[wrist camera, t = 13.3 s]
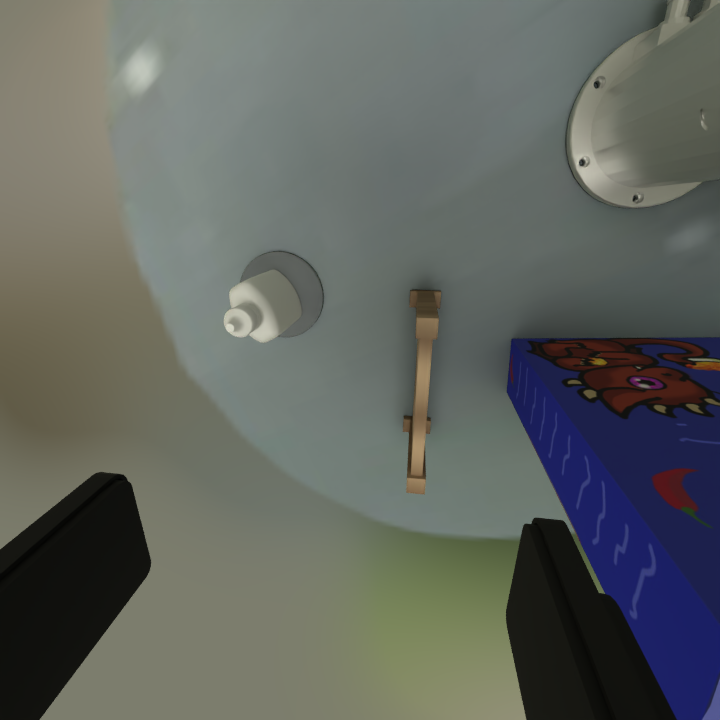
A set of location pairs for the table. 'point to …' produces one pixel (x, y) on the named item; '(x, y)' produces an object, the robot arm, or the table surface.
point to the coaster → (300, 279)
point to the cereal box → (639, 487)
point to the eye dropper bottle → (262, 307)
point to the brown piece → (421, 386)
